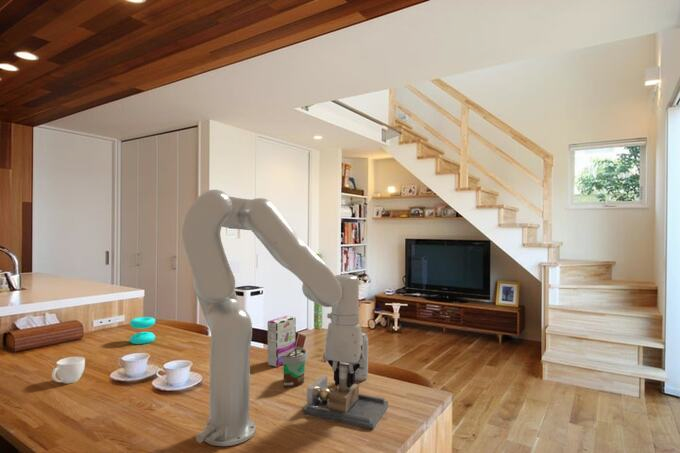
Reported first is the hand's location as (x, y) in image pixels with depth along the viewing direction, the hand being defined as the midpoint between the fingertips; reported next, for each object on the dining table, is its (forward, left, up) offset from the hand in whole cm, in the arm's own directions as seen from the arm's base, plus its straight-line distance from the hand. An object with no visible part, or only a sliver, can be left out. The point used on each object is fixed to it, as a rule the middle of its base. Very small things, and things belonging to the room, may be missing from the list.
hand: (344, 384), depth 112 cm
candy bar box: (+27, +36, -7) cm, 46 cm away
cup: (-18, +89, -7) cm, 91 cm away
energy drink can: (+24, +4, -7) cm, 25 cm away
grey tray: (0, -1, -7) cm, 7 cm away
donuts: (+25, +105, -8) cm, 108 cm away
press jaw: (0, 0, -5) cm, 5 cm away
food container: (+12, +21, -7) cm, 25 cm away
